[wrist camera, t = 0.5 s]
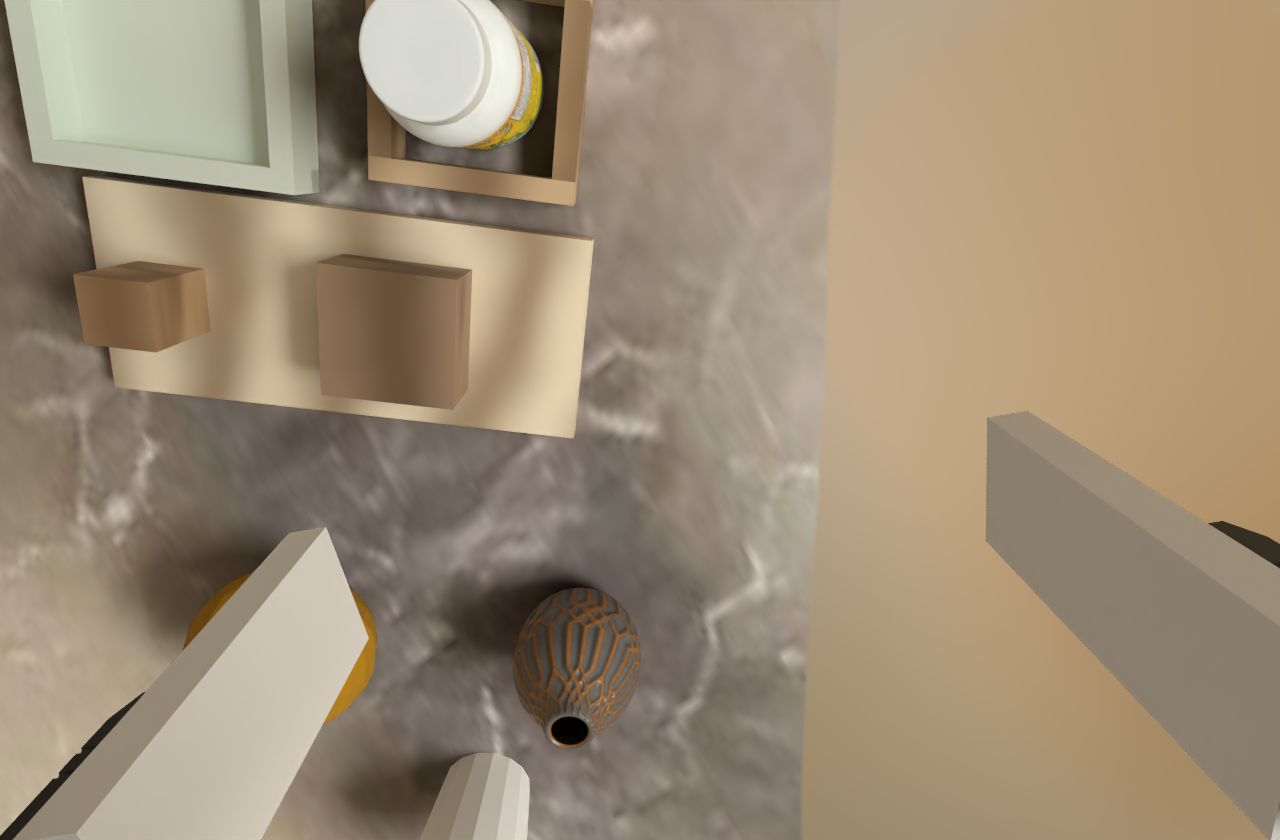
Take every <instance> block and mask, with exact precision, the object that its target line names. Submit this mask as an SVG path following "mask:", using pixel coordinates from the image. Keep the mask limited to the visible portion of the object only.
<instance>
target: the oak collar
mask: <svg viewBox="0 0 1280 840" xmlns="http://www.w3.org/2000/svg"><path fill="white" fill-rule="evenodd" d="M374 1H375V0H366V12H367V10H368V9H369V7H370V6H371V4H372V3H373V2H374ZM518 1H525V2H532V3H539V4H546V5H553V6H560V7H565V8H564V21H563V35H562V48H561V62H560V75H559V89H558V102H557V116H556V130H555V143H554V157H553V170H552V178H550V177H542V176H535V175H527V174H519V173H512V172H504V171H496V170H489V169H481V168H473V167H466V166H458V165H450V164H443V163H435V162H427V161H420V160H412V159H406V129H405V128H403V127H402V126H401V125H400V124H399V123H398V122H397V121H396V120H395V119H394V118H393V117H392V116H391V114H390V113H389V111H388V110H387V109H386V107H385V106H384V104H383V103H382V101H381V100H380V99H379V98H378V97H377V96H376V94H375V93H374V92H373V90H372V88H371V87H370V85H369V84H368V81H367V125H368V180H375V181H383V182H390V183H398V184H406V185H414V186H421V187H429V188H437V189H445V190H453V191H460V192H468V193H476V194H484V195H491V196H499V197H507V198H515V199H523V200H530V201H538V202H546V203H554V204H561V205H569V206H573V205H574V204H576V198H577V187H578V175H579V164H580V152H581V141H582V129H583V118H584V106H585V94H586V83H587V71H588V60H589V48H590V37H591V25H592V14H593V2H594V0H518Z"/></svg>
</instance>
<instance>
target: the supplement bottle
mask: <svg viewBox="0 0 1280 840" xmlns="http://www.w3.org/2000/svg"><path fill="white" fill-rule="evenodd" d="M359 55H360V61H361V65H362V69H363V72H364V74H365V77H366V79H367V81H368V84H369V85H370V87H371V88H372V90H373V92H374V93H375V94H376V96H377V97H378V98H379V99H380V100H381V101H382V103H383V104H384V106H385V107H386V109H387V110H388V111H389V113H390V114H391V116H392V117H393V118H394V119H395V120H396V121H397V122H398V123H399V124H400V125H401V126H402V127H403V128H405V129H406V130H407V131H409V132H410V133H411V134H413V135H414V136H416V137H418V138H420V139H422V140H424V141H427V142H429V143H432V144H434V145H439V146H446V147H456V148H469V149H482V150H486V149H496V148H501V147H504V146H507V145H509V144H511V143H513V142H514V141H516V140H518V139H519V138H521V137H522V136H523V135H525V134H526V133H527V132H528V131H529V130H530V129H531V127H532V126H533V125H534V123H535V121H536V120H537V118H538V115H539V113H540V110H541V107H542V102H543V96H544V81H543V74H542V69H541V66H540V62H539V60H538V57H537V55H536V53H535V51H534V50H533V48H532V46H531V45H530V43H529V42H528V41H527V39H526V38H525V37H524V36H523V35H522V33H521V32H520V31H519V30H518V29H517V28H516V27H515V26H514V25H513V24H512V23H511V22H510V21H509V19H508V18H507V17H506V16H505V15H504V14H503V13H502V12H501V11H500V10H499V9H498V8H497V7H496V6H495V5H494V4H493V3H492V2H491V1H490V0H375V1H374V2H373V3H372V4H371V6H370V7H369V9H368V10H367V12H366V14H365V17H364V19H363V22H362V25H361V29H360V35H359Z"/></svg>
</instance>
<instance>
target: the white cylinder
mask: <svg viewBox="0 0 1280 840" xmlns="http://www.w3.org/2000/svg"><path fill="white" fill-rule="evenodd" d="M529 795H530V786H529V778H528V776H527V774H526V773H525V771H524V769H523V768H522V767H521V766H520V765H519V764H517V763H516V762H514V761H513V760H512V759H510V758H508V757H505V756H502V755H499V754H495V753H475V754H472V755H468V756H465V757H462V758H461V759H459V760H458V761H457V762H456V763H454V764H453V765H452V766H451V767H450V769H449V771H448V774H447V776H446V778H445V780H444V783H443V785H442V788H441V790H440V792H439V795H438V797H437V799H436V802H435V804H434V807H433V809H432V811H431V814H430V816H429V818H428V821H427V823H426V826H425V828H424V830H423V833H422V835H421V837H420V840H527V827H528V811H529Z"/></svg>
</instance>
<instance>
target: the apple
mask: <svg viewBox="0 0 1280 840" xmlns="http://www.w3.org/2000/svg"><path fill="white" fill-rule="evenodd" d="M253 572H254V571H252V572H250V573H248V574H246V575H244V576H242V577H240V578H238V579H236V580H234V581H231V582H229V583H227V584H226V585H225V586H224V587H223V588H222V589H221V590H220V591H219V592H218V593H216V594H215V595H214V596H213V597H212V598H211V599H210V600H209V601H208V602H207V603H206V604H205V605H204V606H203V607H202V609H201V610H200V611H199V613H198V614H197V616H196V617H195V618H194V620H193V621H192V622H191V625H190V628H189V631H188V634H187V637H186V641H185V645H184V648H183V650H184V649H185V648H186V647H187V646H188V645H189V643H190V642H191V641H192V640H193V639H194V638H195V637H196V636H197V635H198V633H199V632H200V631H201V630H202V629H203V628H204V627H205V626H206V625H207V623H208V622H209V621H210V620H211V619H212V618H213V617H214V616H215V615H216V613H217V612H218V611H219V610H220V609H221V608H222V607H223V606H224V605H225V603H226V602H227V601H228V600H229V599H230V598H231V597H232V596H233V595H234V593H235V592H236V591H237V590H238V589H239V588H240V587H241V586H242V585H243V583H244V582H245V581H246V580H247V579H248V578H249V577H250V576H251V575H252V573H253ZM349 588H350V591H351V593H352V596H353V598H354V601H355V604H356V606H357V609H358V611H359V614H360V616H361V619H362V622H363V624H364V627H365V629H366V632H367V635H368V637H369V639H368V641H367V643H366V644H365V646H364V648H363V650H362V652H361V654H360V656H359V657H358V659H357V661H356V663H355V665H354V667H353V669H352V671H351V672H350V674H349V676H348V678H347V680H346V682H345V684H344V685H343V687H342V689H341V691H340V693H339V695H338V697H337V699H336V700H335V702H334V704H333V706H332V708H331V710H330V712H329V713H328V715H327V717H326V719H325V721H324V723H323V725H324V724H326V723H328V722H329V721H331V720H333V719H335V718H336V717H337V716H338V715H339V714H340V713H342V712H343V711H344V710H345V709H346V708H347V707H348V706H349V705H350V704H351V703H352V702H353V701H354V700H355V699H356V698H357V697H358V696H359V694H360V693H361V692H362V691H363V690H364V689H365V687H366V685H367V683H368V681H369V679H370V677H371V675H372V673H373V670H374V663H375V653H376V643H377V633H376V627H375V622H374V619H373V617H372V614H371V611H370V610H369V608H368V606H367V605H366V603H365V601H364V600H363V599H362V598H361V597H360V596H359V594H358V593H357V592H356V591H355V590H354V589H353V588H352V587H351V586H349Z"/></svg>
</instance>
